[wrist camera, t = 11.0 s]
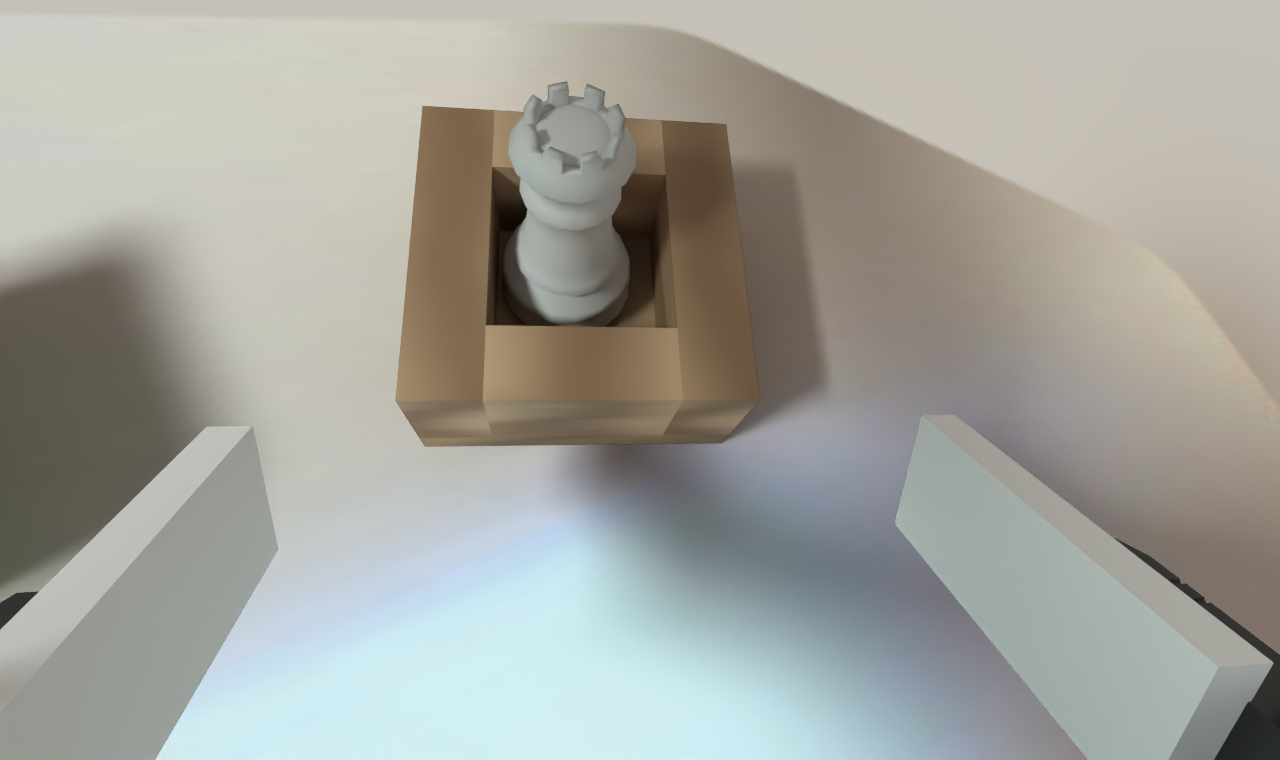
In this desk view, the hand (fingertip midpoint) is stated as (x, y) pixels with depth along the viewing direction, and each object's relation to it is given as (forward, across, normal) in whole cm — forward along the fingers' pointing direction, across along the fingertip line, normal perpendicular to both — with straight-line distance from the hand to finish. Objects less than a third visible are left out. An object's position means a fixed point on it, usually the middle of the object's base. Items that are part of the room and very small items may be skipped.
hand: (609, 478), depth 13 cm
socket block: (+12, 0, 0) cm, 12 cm away
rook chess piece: (+12, 0, +1) cm, 12 cm away
